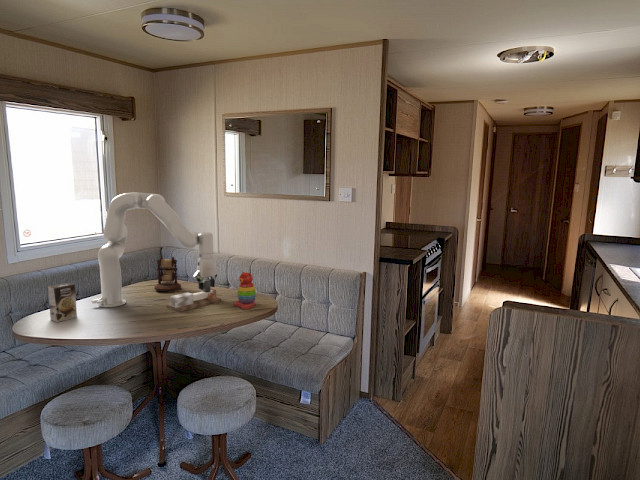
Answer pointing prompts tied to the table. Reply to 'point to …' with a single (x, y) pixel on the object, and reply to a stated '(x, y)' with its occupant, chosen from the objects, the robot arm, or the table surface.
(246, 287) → the stacking bear
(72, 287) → the coffee box
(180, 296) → the wooden board
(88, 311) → the table surface
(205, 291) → the white block with knob
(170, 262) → the wooden spool holder
